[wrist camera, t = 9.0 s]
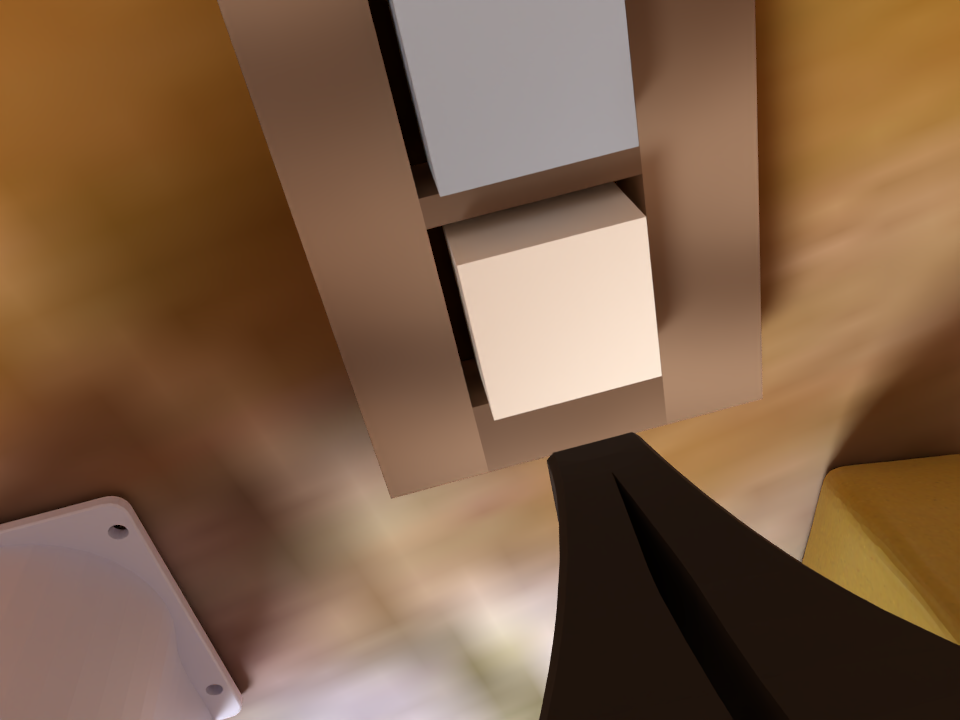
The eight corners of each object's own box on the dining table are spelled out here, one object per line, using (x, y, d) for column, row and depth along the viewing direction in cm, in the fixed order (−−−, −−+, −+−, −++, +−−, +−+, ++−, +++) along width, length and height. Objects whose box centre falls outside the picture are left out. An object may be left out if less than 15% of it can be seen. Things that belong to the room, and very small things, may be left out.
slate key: (595, 108, 18) (639, 145, 16) (424, 152, 18) (440, 197, 16) (570, -90, 16) (616, -82, 14) (376, -43, 16) (386, -26, 14)
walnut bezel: (727, 356, 23) (762, 399, 21) (385, 447, 23) (391, 498, 21) (677, -717, 13) (739, -818, 11) (39, -576, 12) (-13, -656, 10)
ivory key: (621, 316, 21) (661, 376, 19) (473, 354, 21) (493, 420, 19) (603, 171, 19) (646, 216, 17) (439, 213, 19) (456, 266, 17)
